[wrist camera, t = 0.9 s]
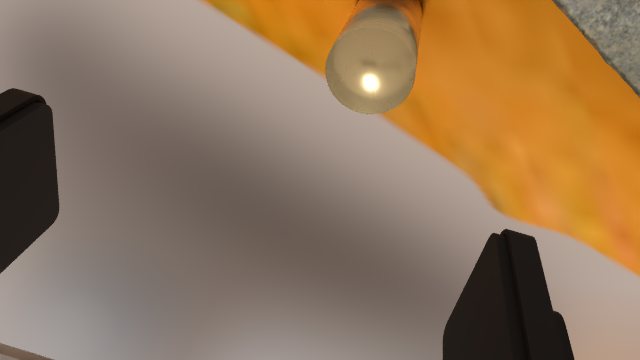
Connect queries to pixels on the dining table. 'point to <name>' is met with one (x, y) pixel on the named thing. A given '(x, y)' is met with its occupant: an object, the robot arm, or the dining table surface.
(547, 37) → the dining table surface
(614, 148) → the dining table surface
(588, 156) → the dining table surface
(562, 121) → the dining table surface
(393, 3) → the brass pin
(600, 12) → the stone block
